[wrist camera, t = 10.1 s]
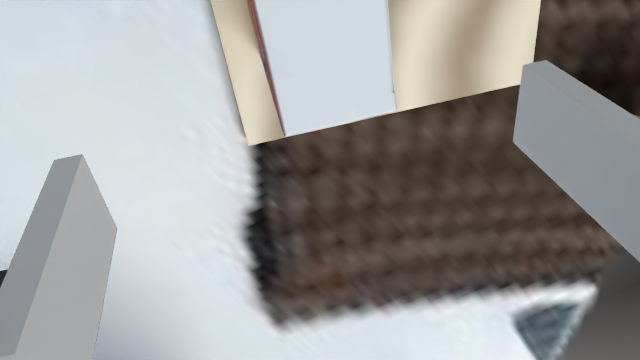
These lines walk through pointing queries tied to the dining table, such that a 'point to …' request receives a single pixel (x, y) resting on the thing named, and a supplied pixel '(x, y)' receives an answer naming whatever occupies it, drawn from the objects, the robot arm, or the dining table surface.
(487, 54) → the birch board
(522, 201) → the dining table surface
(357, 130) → the dining table surface
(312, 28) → the small box
